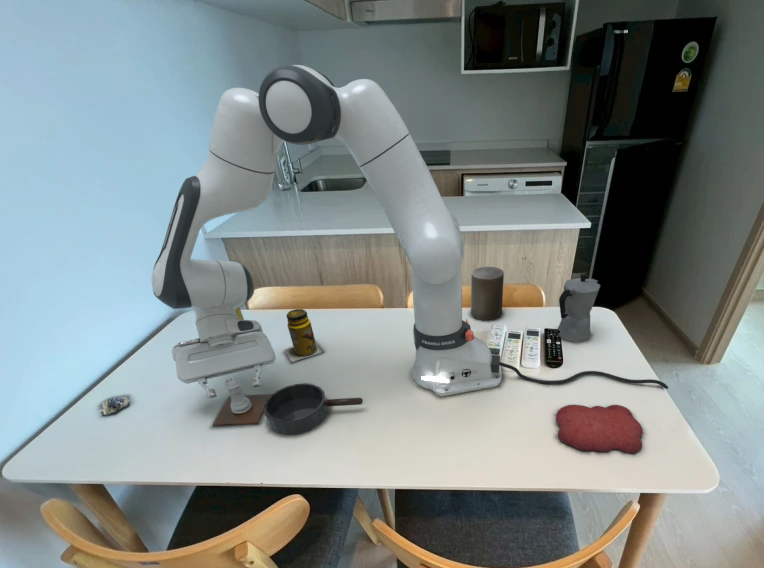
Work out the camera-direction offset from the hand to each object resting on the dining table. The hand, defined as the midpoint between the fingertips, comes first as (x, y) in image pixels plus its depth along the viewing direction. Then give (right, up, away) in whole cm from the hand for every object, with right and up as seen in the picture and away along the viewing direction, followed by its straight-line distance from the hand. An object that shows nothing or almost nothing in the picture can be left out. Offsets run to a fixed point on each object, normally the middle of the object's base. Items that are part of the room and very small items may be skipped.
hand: (235, 391), depth 92 cm
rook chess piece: (0, -4, +4) cm, 6 cm away
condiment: (+7, +10, +24) cm, 27 cm away
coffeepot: (+83, +15, +26) cm, 88 cm away
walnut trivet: (0, -5, +4) cm, 6 cm away
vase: (-13, +14, +30) cm, 36 cm away
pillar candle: (+61, +23, +38) cm, 75 cm away
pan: (+14, -5, +2) cm, 15 cm away
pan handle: (+24, -3, +1) cm, 24 cm away
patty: (+79, -8, -5) cm, 79 cm away
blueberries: (-33, -4, +7) cm, 34 cm away
